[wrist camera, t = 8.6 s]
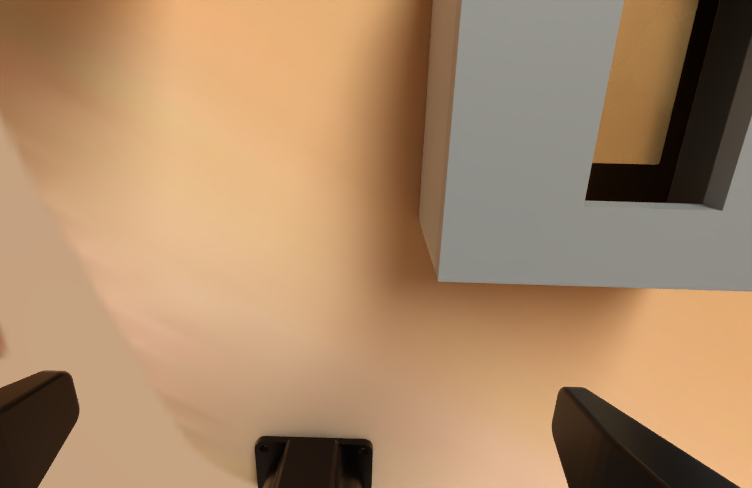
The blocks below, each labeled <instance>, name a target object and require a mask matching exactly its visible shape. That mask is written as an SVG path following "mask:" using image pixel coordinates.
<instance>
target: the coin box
mask: <svg viewBox="0 0 752 488" xmlns="http://www.w3.org/2000/svg"><path fill="white" fill-rule="evenodd" d="M623 4H624V0H433V4H432V20H431V35H430V50H429V66H428V81H427V96H426V112H425V127H424V142H423V158H422V173H421V188H420V204H419V222H420V226H421V229H422V232H423V235H424V238H425V242H426V245H427V248H428V251H429V255H430V258H431V261H432V264H433V268H434V271H435V274H436V277H437V280H438V282H463V283H496V284H528V285H560V286H592V287H624V288H656V289H688V290H721V291H752V0H720V1H719V5H718V9H717V13H716V16H715V20H714V24H713V28H712V32H711V36H710V39H709V43H708V47H707V51H706V55H705V58H704V62H703V66H702V70H701V74H700V78H699V81H698V85H697V89H696V93H695V97H694V100H693V104H692V108H691V112H690V116H689V120H688V123H687V127H686V131H685V135H684V139H683V142H682V146H681V150H680V154H679V158H678V161H677V165H676V169H675V173H674V177H673V181H672V184H671V188H670V192H669V196H668V200H667V203H648V202H616V201H585V197H586V192H587V187H588V182H589V177H590V172H591V167H592V161H593V156H594V151H595V146H596V141H597V136H598V131H599V126H600V121H601V116H602V111H603V105H604V100H605V95H606V90H607V85H608V80H609V75H610V70H611V65H612V60H613V55H614V49H615V44H616V39H617V34H618V29H619V24H620V19H621V14H622V9H623Z"/></svg>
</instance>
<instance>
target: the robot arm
mask: <svg viewBox="0 0 752 488" xmlns="http://www.w3.org/2000/svg"><path fill="white" fill-rule="evenodd" d="M78 416H79V403H78V399H77V395H76V391H75V387H74V383H73V379H72V376H71V375H70V374H69V373H68V372H66V371H41V372H38V373H36V374H33V375H31V376H29V377H26V378H24V379H21V380H19V381H17V382H14V383H12V384H9V385H7V386H4V387H2V388H0V488H37V487H38V486H39V484H40V483H41V481H42V479H43V478H44V476H45V474H46V473H47V471H48V469H49V467H50V466H51V464H52V462H53V461H54V459H55V457H56V456H57V454H58V452H59V450H60V449H61V447H62V445H63V444H64V442H65V440H66V439H67V437H68V435H69V434H70V432H71V430H72V428H73V427H74V425H75V423H76V421H77V419H78ZM552 434H553V438H554V441H555V444H556V448H557V451H558V454H559V457H560V461H561V464H562V467H563V470H564V474H565V477H566V480H567V483H568V487H569V488H740V487H739V486H737V485H736V484H734V483H732V482H731V481H729V480H728V479H726V478H725V477H723V476H721V475H720V474H718V473H717V472H715V471H714V470H712V469H711V468H709V467H707V466H706V465H704V464H703V463H701V462H700V461H698V460H697V459H695V458H693V457H692V456H690V455H689V454H687V453H686V452H684V451H683V450H681V449H679V448H678V447H676V446H675V445H673V444H672V443H670V442H668V441H667V440H665V439H664V438H662V437H661V436H659V435H658V434H656V433H654V432H653V431H651V430H650V429H648V428H647V427H645V426H644V425H642V424H640V423H639V422H637V421H636V420H634V419H633V418H631V417H629V416H628V415H626V414H625V413H623V412H622V411H620V410H619V409H617V408H615V407H614V406H612V405H611V404H609V403H608V402H606V401H605V400H603V399H601V398H600V397H598V396H597V395H595V394H594V393H592V392H591V391H589V390H587V389H586V388H582V387H563V388H561V389H560V390H559V392H558V396H557V401H556V405H555V410H554V415H553V420H552ZM263 445H265V446H267V447H265V446H263ZM362 448H365V449H366V450H362ZM255 455H256V468H257V480H258V488H371V486H372V457H373V445H372V443H371V442H370V441H369V440H366V439H342V438H310V437H277V436H263V437H260V438H259V439H258V440H257V443H256V446H255Z"/></svg>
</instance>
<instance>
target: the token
mask: <svg viewBox="0 0 752 488" xmlns="http://www.w3.org/2000/svg"><path fill="white" fill-rule="evenodd" d="M698 1H699V0H624V4H623V9H622V14H621V19H620V24H619V29H618V34H617V39H616V44H615V49H614V55H613V60H612V65H611V70H610V75H609V80H608V85H607V90H606V95H605V100H604V105H603V111H602V116H601V121H600V126H599V131H598V136H597V141H596V146H595V151H594V156H593V161H592V163H618V164H659V163H660V159H661V155H662V151H663V147H664V143H665V139H666V134H667V130H668V126H669V122H670V118H671V114H672V109H673V105H674V101H675V97H676V93H677V89H678V85H679V80H680V76H681V72H682V68H683V64H684V60H685V55H686V51H687V47H688V43H689V39H690V35H691V30H692V26H693V22H694V18H695V14H696V10H697V6H698Z"/></svg>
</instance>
